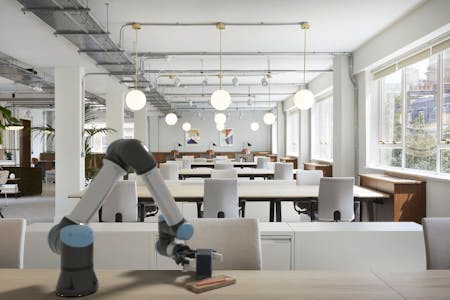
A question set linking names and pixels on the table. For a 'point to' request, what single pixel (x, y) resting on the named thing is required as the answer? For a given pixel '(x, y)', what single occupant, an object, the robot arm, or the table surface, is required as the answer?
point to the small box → (204, 264)
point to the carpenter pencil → (212, 282)
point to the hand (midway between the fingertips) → (208, 261)
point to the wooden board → (203, 288)
